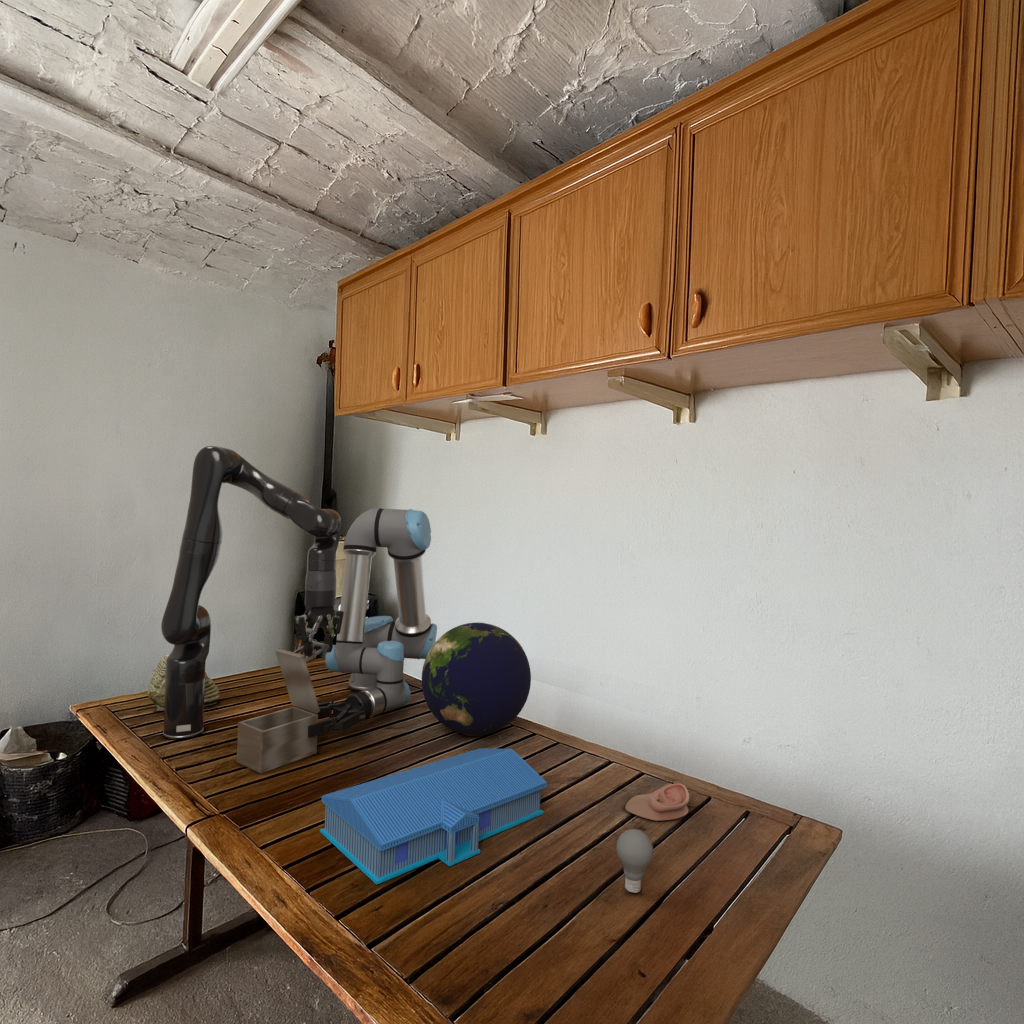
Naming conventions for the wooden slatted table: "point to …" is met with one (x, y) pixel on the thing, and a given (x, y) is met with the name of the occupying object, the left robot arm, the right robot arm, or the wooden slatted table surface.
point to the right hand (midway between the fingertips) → (295, 726)
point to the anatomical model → (661, 803)
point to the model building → (431, 811)
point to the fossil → (158, 687)
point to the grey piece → (300, 676)
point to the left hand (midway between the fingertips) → (318, 653)
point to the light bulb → (634, 857)
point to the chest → (275, 739)
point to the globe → (476, 679)
